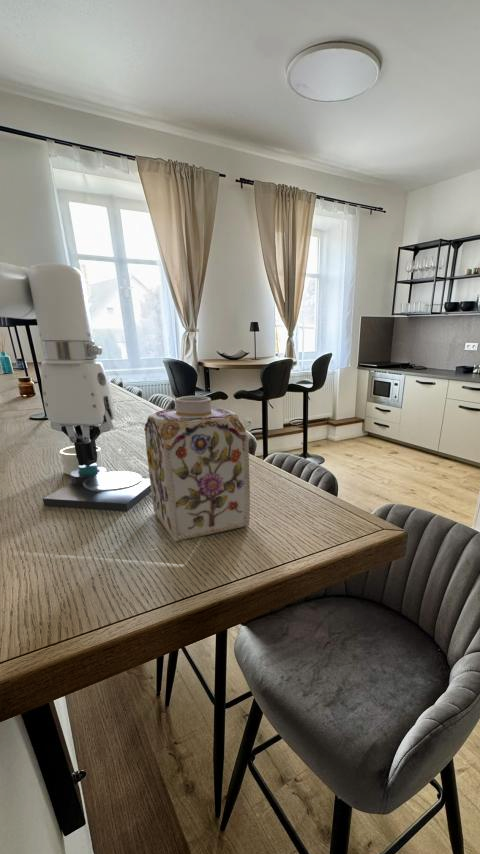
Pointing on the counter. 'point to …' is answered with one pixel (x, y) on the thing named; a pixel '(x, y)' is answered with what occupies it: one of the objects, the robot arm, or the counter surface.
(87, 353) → the robot arm
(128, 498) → the scale
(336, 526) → the counter surface
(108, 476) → the scale pan
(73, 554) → the counter surface
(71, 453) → the bowl
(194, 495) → the decorative jar
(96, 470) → the tare button
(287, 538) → the counter surface
